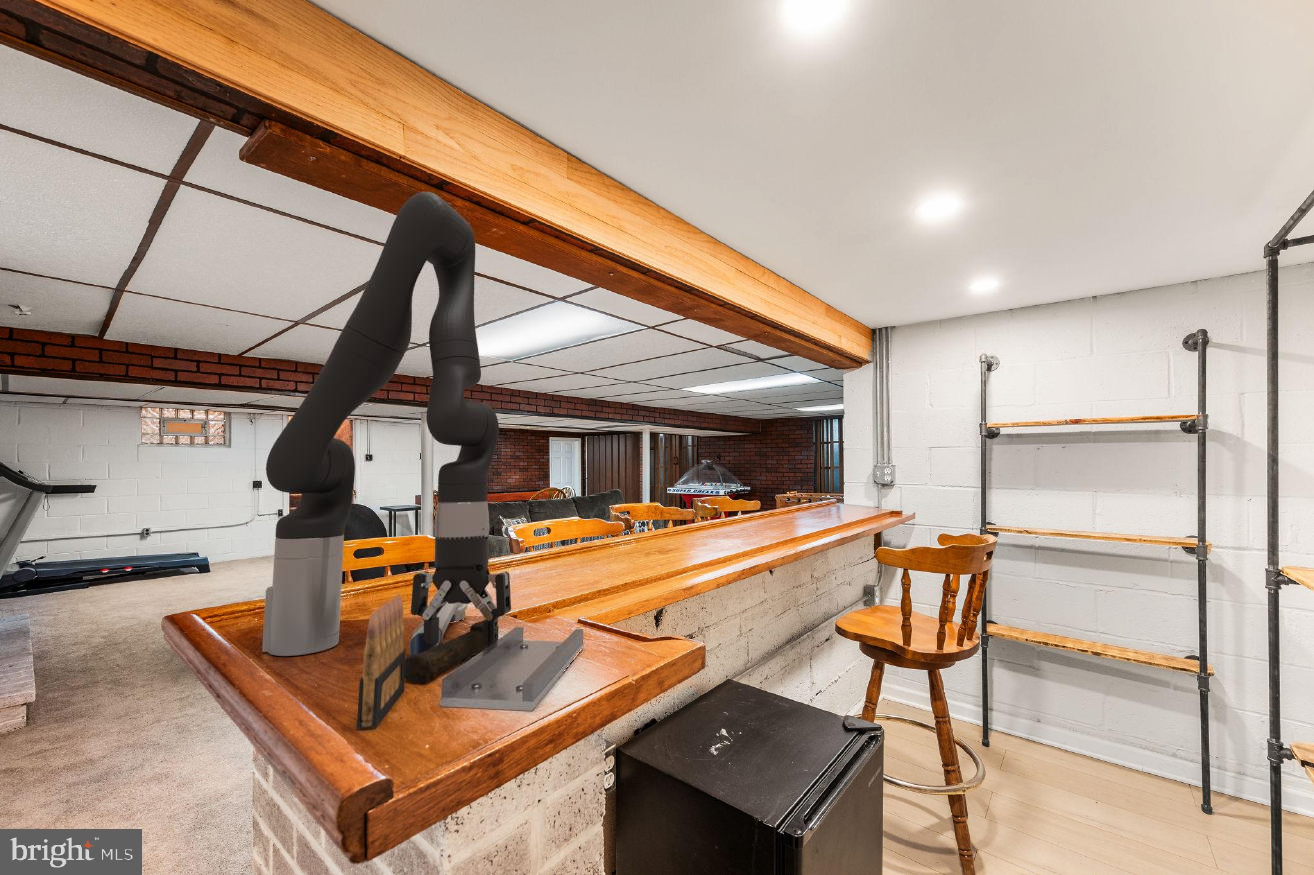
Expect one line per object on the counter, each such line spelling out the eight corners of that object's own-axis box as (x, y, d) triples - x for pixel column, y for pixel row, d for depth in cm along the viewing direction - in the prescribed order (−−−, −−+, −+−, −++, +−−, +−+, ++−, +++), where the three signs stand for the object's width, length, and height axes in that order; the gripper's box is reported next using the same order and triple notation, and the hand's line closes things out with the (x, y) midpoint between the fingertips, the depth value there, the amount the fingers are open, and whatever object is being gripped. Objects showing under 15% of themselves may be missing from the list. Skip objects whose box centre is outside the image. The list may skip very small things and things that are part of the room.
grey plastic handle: (403, 633, 79) (441, 579, 104) (403, 677, 79) (441, 613, 104) (440, 631, 80) (469, 578, 104) (440, 675, 80) (469, 612, 105)
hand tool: (426, 689, 68) (427, 651, 68) (401, 685, 69) (402, 648, 70) (512, 646, 86) (513, 616, 86) (491, 644, 87) (492, 614, 87)
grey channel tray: (440, 706, 62) (441, 679, 62) (515, 646, 85) (515, 627, 85) (532, 711, 61) (533, 683, 61) (583, 649, 83) (583, 629, 84)
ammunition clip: (388, 691, 66) (393, 592, 67) (404, 690, 67) (408, 592, 68) (356, 730, 56) (361, 612, 57) (375, 729, 56) (380, 612, 57)
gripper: (402, 535, 77) (399, 652, 75) (498, 534, 75) (497, 654, 74) (430, 531, 84) (427, 637, 83) (517, 530, 83) (517, 638, 81)
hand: (460, 645), depth 78 cm, fingers open, 8 cm apart
